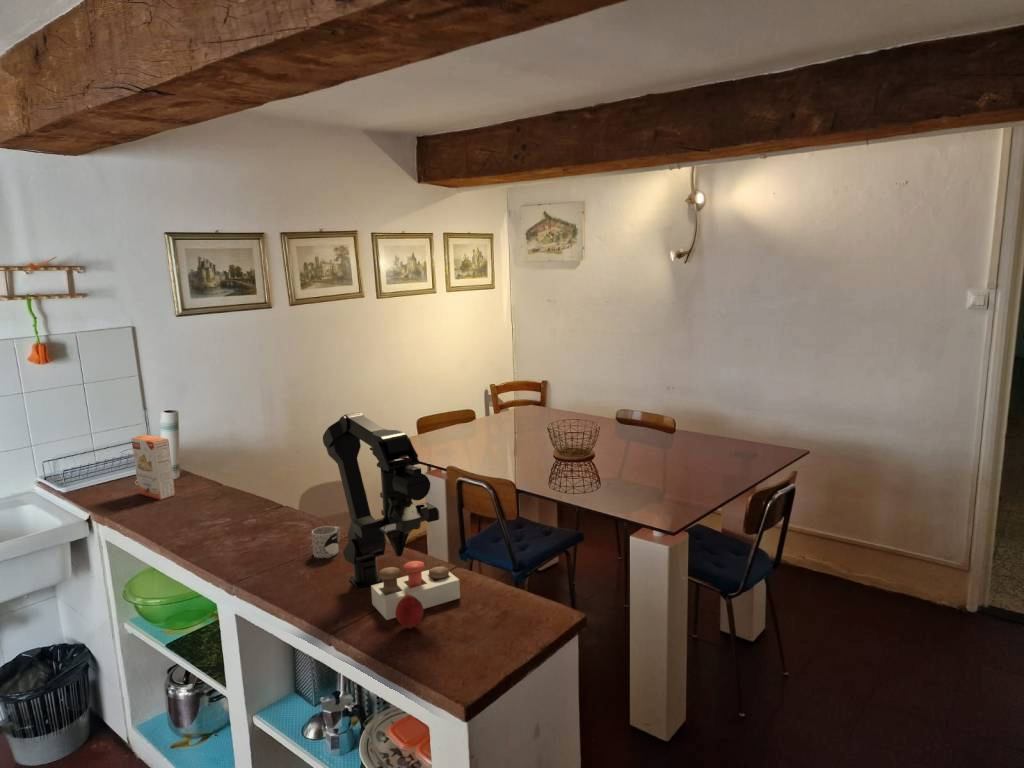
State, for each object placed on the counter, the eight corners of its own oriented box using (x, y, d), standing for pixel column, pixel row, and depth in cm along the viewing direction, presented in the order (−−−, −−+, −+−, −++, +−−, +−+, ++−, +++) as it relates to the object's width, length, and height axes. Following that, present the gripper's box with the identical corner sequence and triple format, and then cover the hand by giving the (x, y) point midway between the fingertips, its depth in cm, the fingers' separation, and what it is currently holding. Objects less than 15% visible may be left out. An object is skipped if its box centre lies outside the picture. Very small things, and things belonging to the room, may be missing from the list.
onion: (425, 620, 151) (423, 586, 150) (422, 634, 146) (420, 598, 144) (398, 621, 151) (396, 587, 150) (394, 635, 145) (392, 599, 144)
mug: (329, 560, 185) (327, 536, 184) (308, 557, 187) (306, 534, 186) (350, 545, 195) (348, 523, 194) (329, 543, 197) (327, 520, 196)
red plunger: (402, 586, 161) (400, 564, 160) (420, 581, 163) (419, 559, 162) (410, 594, 157) (408, 571, 156) (428, 588, 159) (427, 565, 158)
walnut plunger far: (426, 591, 164) (425, 569, 163) (444, 586, 166) (443, 565, 166) (435, 599, 160) (433, 576, 159) (453, 593, 163) (452, 571, 162)
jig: (372, 604, 160) (371, 585, 159) (443, 583, 169) (442, 566, 168) (386, 620, 152) (385, 600, 151) (460, 597, 161) (459, 579, 160)
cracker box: (137, 494, 248) (130, 437, 244) (154, 489, 253) (147, 433, 249) (159, 500, 240) (152, 441, 237) (176, 495, 245) (169, 437, 242)
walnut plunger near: (377, 593, 158) (376, 570, 157) (396, 588, 160) (395, 565, 159) (385, 601, 154) (383, 577, 153) (404, 595, 156) (403, 572, 155)
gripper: (369, 508, 142) (374, 579, 145) (449, 489, 152) (452, 557, 155) (349, 494, 151) (354, 562, 154) (426, 477, 162) (429, 541, 164)
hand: (399, 555), depth 157 cm, fingers closed
